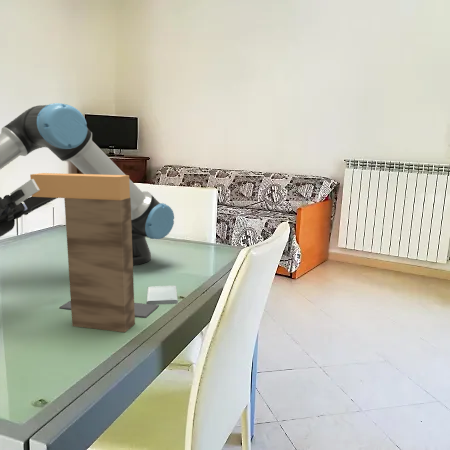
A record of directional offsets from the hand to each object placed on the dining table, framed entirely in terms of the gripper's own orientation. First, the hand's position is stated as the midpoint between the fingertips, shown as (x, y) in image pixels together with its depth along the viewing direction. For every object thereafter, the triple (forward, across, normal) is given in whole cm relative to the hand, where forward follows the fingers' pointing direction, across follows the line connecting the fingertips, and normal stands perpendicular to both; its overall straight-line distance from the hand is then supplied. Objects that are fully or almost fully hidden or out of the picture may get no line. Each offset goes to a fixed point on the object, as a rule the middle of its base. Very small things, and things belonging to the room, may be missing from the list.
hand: (55, 181), depth 105 cm
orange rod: (+4, 0, -6) cm, 7 cm away
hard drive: (-4, -22, -38) cm, 44 cm away
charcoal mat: (-12, -11, -32) cm, 36 cm away
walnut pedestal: (-8, 0, -34) cm, 35 cm away
